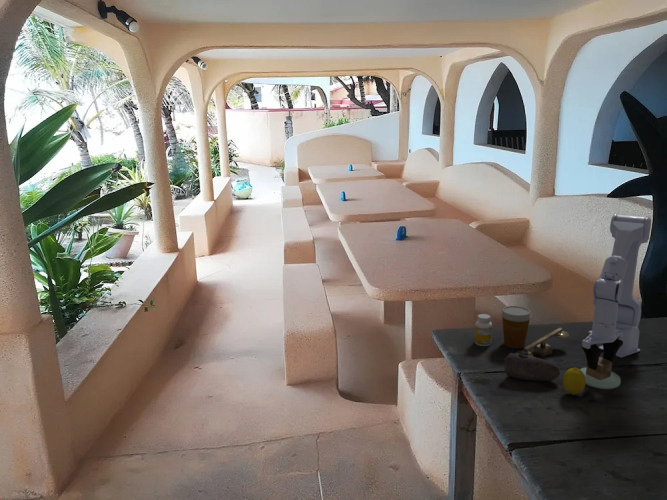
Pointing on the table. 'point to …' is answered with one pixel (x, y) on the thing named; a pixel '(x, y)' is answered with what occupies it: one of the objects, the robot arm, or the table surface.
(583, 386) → the lemon
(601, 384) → the dish
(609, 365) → the block
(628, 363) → the table surface
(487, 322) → the supplement bottle
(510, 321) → the disposable coffee cup
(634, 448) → the table surface
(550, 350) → the balance
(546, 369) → the perforated stone tool
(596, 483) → the table surface
